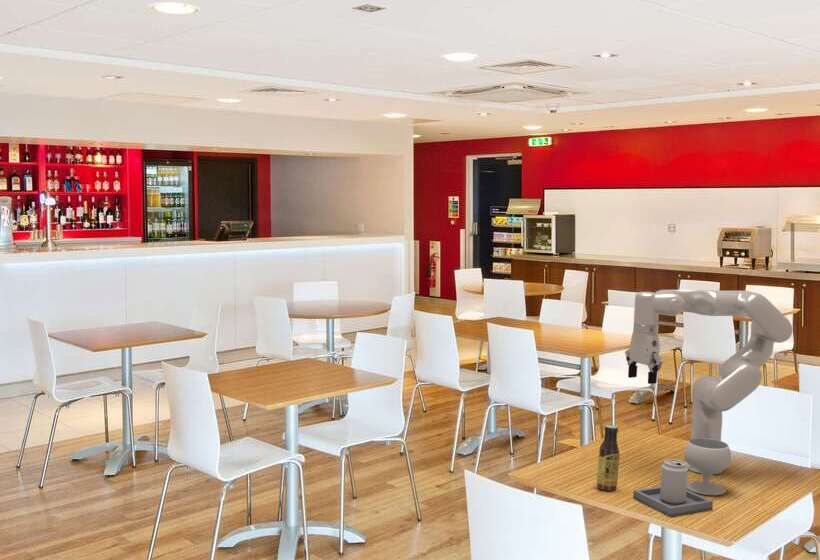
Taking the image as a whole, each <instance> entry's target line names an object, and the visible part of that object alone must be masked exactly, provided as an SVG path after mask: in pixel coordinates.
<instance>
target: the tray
mask: <svg viewBox="0 0 820 560" xmlns="http://www.w3.org/2000/svg"><path fill="white" fill-rule="evenodd" d="M660 486H661V485H660ZM660 486H654V487H653V486H652V487H647V488H640V489H634V490H633V495H632V496H633V497H632V499H633V500H636V501H638V502H640V503H642V504H644V505H645V506H647V507H649V508H652V509H653V510H655V511H657V512H660V513H661V514H664V515H665V516H667V517H670V518H671V517H672V518H673V517H679V516H683V515H690V514H693V513H694V514H695V513H701V512H706V511H707V512H708V511H712V510H713V506H714V505H713V504H714V502H713V500H711V499H710V498H709V499H708V498H707V497H704V496H702V495H700V494H699V493H695V492H692V491H690V490H688V489H687V490H686V501H684V502H683V503H682V504H669V503H666V502H664V501H663V500H662V499H661V498H660Z"/></svg>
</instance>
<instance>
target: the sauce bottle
mask: <svg viewBox="0 0 820 560" xmlns="http://www.w3.org/2000/svg"><path fill="white" fill-rule="evenodd" d="M618 431H619V427H618V425H612V424H606V425H604V438H603V439H604V440H603V441H602V442H601V444H600V447H599V453H598V460H597V461H598V462H597V473H596V488H597V489H598V490H601V491H605V492H613V491H615V490H616V489H617V485H618V479H619V478H618V477H619V476H618V475H619V467H620V466H619V464H620V454H621V453H620V450H619V445H618V441H617V440H618V433H619V432H618Z"/></svg>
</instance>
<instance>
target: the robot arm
mask: <svg viewBox="0 0 820 560" xmlns="http://www.w3.org/2000/svg"><path fill="white" fill-rule="evenodd" d="M633 309H634V311H633V313H634V314H633V328H632V329H633V330H632V334H631V337H630V344H629V349H627V350H625V351H624V354H625V360H626V362H627V363H626V364H627V366H628V371H627V377H628V378H630V379H631V378H637V376H638V365H637V364H641V365H645V366H647V367H648V370H649V371H648V373H647V375H648V376H647V384H649V385H651V384H652V385H653V384H655V385H656V384H657V380H658V378H657V377H658V372H659V370H660V369H661V368H662V365H663V363H664V360H663V358H661V357H660V339H659V335H658V334H657V333H658V319H659V317H658V316H659V315H664V316H669V317H670V316H671V317H674V316H678V315H680V314H681V313H684V312H685V313H692V314H697V315H700V316H707V317H708V316H709V317H737V316H738V317H746V318H749V319H750V320H751V324H750V338H749V339H748V342H746V344H745V345H744V346H743V347H742V348H740V349H739V350H738V351H737V352H735V353H734V354H733V355H732V356H730V357H728V358H727V359H726V360H725V361H723V363H721V365H720V366H719V370H718V371H719V372H718V373H719V376H720V377H721V379H722V380H720V379H719V378H717V377H714V376H712V375H711V376H710V375H702V376H699V377H698V378H697V379H696V380H695V381H694V382H693V384H692V388H691V401H692V419H691V420H692V421H691V435H690V436H691V437H690V440H691V439H694V438H709V439H715V440H719V441H722V429H723V412H726V411H730V410H731V409H733V408H734V407H736V406H737V405H738V404H739V403H741V402H742V401H743V400H745V399H746V398H747V397H748V396H750V395H751V394H752V393H753V392H755V391H756V390H757V388H759V386H760V384H761V382H762V376H763V375H762V371H761V369H760V368H761V367H762V366H764V365H765V364H766V363H767V362H768V361H769V360H770V359H771V356H772V354H773V351H774V345H775V343H776V344H780V343H784V342H787V341H789V339H790V338H791V336H792V335H793V325H792V323H791V322H790V320H789V319H788V318H787V317H786V316H785V315H784V314H783V313H782V311H780V310H779V309H778V308H777V307H776V306H775V305H774V304H773V303H772V302H771V301H770V300H769V299H768V298H767V297H765V296H764V295H763V294H761V293H758V292H754V291H749V290H706V289H705V290H704V289H701V290H700V289H698V290H697V289H696V290H695V289H693V290H692V289H691V290H690V289H660V290H657V291H655V292H652V291H639V292H636V294H635V296H634V308H633ZM684 462H685V463H686V465H685V466H686V467H687V468H688V471H691V472H693V473H698V474H701V473H700V472H699V471H698V470H697V469H695V468H694V467H692V466H691V465H689V464H688V463H687V461H686V460H685V461H684ZM724 470H725V469H724ZM724 470H721V471H718V472H716V473H714V474H713V475H718V474H719V475H720V474H722V473H724Z"/></svg>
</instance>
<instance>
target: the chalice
mask: <svg viewBox="0 0 820 560" xmlns="http://www.w3.org/2000/svg"><path fill="white" fill-rule="evenodd" d="M683 456H684V460H685V462H686V461H687V463H688V464H689V465H691V466H692V467H694V468H695V469H697V470H698V471H699V472H700V473H699V474H701V476H702V481H691V482H687V490H689V491H691V492H693V493H695V494H698V495H700V494H701V495H705V496H706V495H707V496H721V495H724V494H726V492H727V490H726V488H725V487H723V486H721V485H719V484H715V483H714V482H710V478H711V476H712V475H715V474H714V473H716V472H718V471H721V470H726V469H728V467H729V466H730V465H731V463H732V452H731V449H730V446H729V445H728V443H726V442H724V441H722V440H721V441H719V440H715V439H709V438H694V439H691V438H690V439H689V441H688V442H687V444H686V446H685V448H684V453H683Z"/></svg>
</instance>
